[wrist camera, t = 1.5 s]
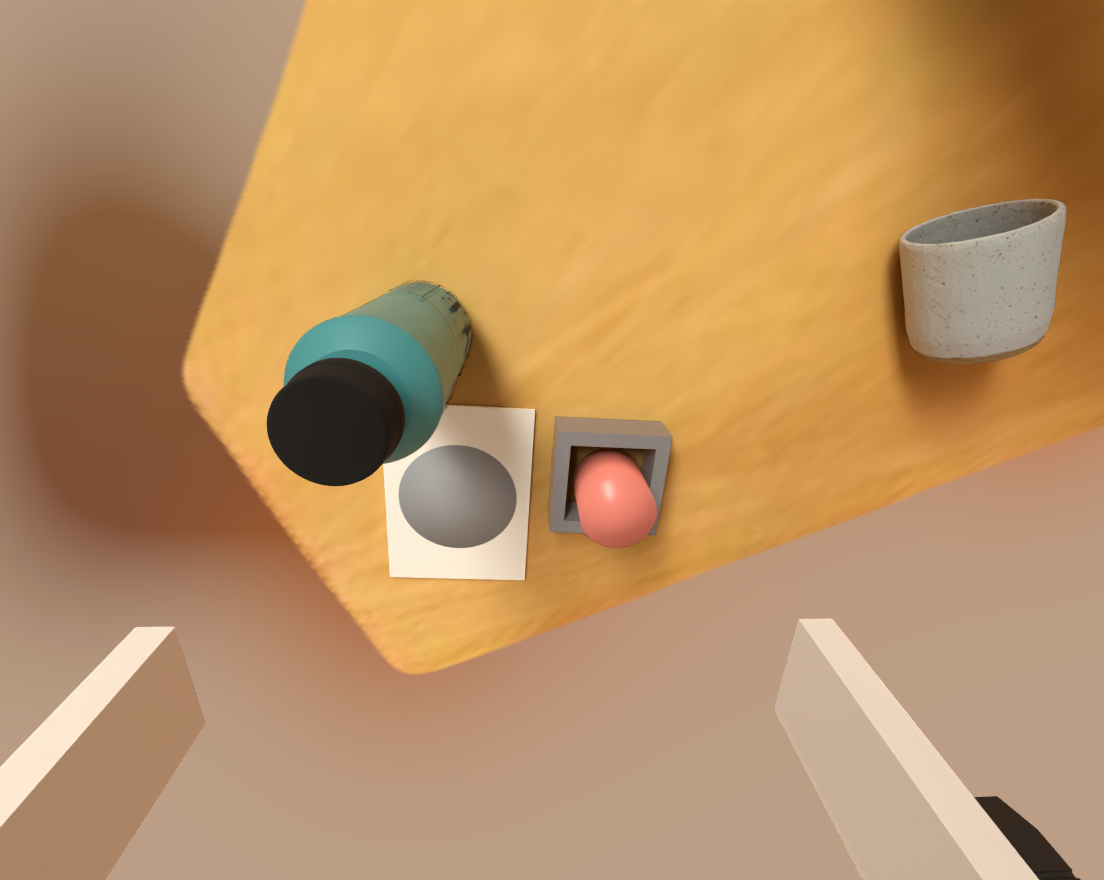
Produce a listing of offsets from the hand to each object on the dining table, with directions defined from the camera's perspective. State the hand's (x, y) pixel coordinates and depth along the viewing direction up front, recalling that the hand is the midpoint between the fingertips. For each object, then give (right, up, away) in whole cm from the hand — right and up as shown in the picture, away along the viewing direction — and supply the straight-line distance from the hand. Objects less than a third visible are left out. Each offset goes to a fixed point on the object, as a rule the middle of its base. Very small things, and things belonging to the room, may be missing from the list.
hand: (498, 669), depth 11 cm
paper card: (-6, +1, +29) cm, 29 cm away
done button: (+5, +2, +26) cm, 27 cm away
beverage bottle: (-7, +13, +24) cm, 28 cm away
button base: (+5, +3, +28) cm, 29 cm away
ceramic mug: (+28, +17, +24) cm, 41 cm away
